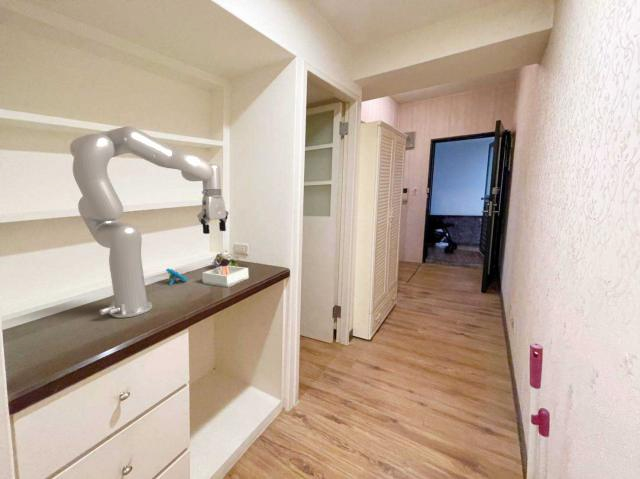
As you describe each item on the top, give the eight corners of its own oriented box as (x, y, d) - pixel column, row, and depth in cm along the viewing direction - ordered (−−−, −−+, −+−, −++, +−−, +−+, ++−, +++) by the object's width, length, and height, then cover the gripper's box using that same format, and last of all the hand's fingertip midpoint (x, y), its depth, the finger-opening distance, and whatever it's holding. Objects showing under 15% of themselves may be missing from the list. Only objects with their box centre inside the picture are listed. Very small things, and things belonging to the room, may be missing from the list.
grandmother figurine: (226, 281, 136) (223, 253, 134) (218, 281, 137) (215, 253, 135) (233, 276, 144) (231, 250, 142) (226, 276, 144) (224, 250, 142)
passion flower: (220, 280, 159) (206, 262, 158) (233, 271, 168) (219, 254, 167) (233, 270, 154) (218, 252, 152) (245, 261, 163) (231, 244, 162)
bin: (227, 287, 131) (226, 276, 130) (203, 283, 137) (202, 272, 136) (248, 278, 144) (248, 267, 143) (225, 274, 150) (224, 265, 149)
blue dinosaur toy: (191, 279, 138) (173, 267, 132) (183, 290, 135) (164, 279, 130) (181, 278, 146) (163, 266, 140) (174, 288, 143) (155, 277, 137)
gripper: (203, 193, 123) (205, 235, 126) (232, 193, 138) (234, 230, 141) (190, 193, 126) (193, 234, 129) (220, 193, 141) (222, 229, 144)
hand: (214, 232), depth 135 cm, fingers open, 9 cm apart
